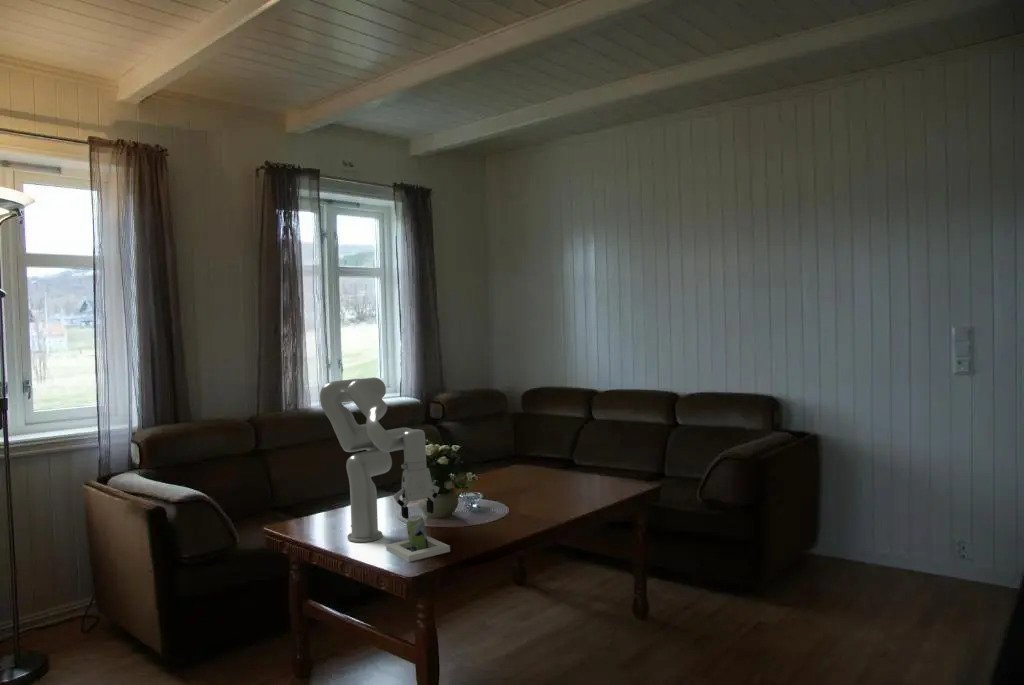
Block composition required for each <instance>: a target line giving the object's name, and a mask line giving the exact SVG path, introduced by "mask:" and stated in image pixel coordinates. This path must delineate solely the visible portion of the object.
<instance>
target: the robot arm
mask: <svg viewBox="0 0 1024 685" xmlns="http://www.w3.org/2000/svg"><path fill="white" fill-rule="evenodd" d="M386 392H387V388H386V384H385V383H384V382H383V380H381V379H380V378H378V377H367V378H365V377H364V378H352V379H351V378H350V379H344V380H341V379H340V380H334V381H329V382H327V383H326V384H324V385H323V386H322V387H321V388H320V392H319V402H320V407H321V408H322V411H323V412H324V414H325V416H326V417H327V418H328V420H329V421H330V424H331V425H332V428H333V431H334V433H335V436H336V438H337V439H338V442H339V445H340V446H341V448H342V450H343V451H344V452H347V453H354V454H352V455H351V456H350V457H348V459H347V460H346V465H345V467H346V473H347V477H348V482H349V483H348V484H349V494H350V495H349V498H350V518H351V519H350V521H351V522H350V524H351V525H350V528H351V532H350V533H349V534H348V535H347V540H348V541H349V542H353V543H368V542H373V541H378V540H380V539H382V537H383V532H382V531H380V530H379V522H378V497H377V486H376V484H375V483H374V481H373V479H372V477H375V476H379V475H383V474H386V473H388V472H389V471H390V470H391V468H392V466H393V460H392V456H391V454H390V453H391V452H396V451H402V450H403V461H404V462H403V464H401V465H400V467H401V469H403V470H402V476H401V489H399V491H397V492H396V493H395V494H394V495H393V498H394V500H395V502H396V503H397V504H398V505H399V506H400V509H401V516H402V518H403V519H406V520H408V518H410V516H409V506H408V504H410V502H414V501H415V502H416V501H419V500H424V499H427V500H426V511H427V512H426V513H429V514H433V513H434V506H435V505H434V502H436V500H435V499H436V498H437V497H438V493H439V490H440V487H439V486H437V485H435V484H433V480H432V476H431V471H430V468H428V467H427V448H426V432H425V431H424V430H423V429H418V428H417V429H416V428H415V429H413V428H409V427H399V428H392V429H385V428H384V427H383V426H382V425H381V424H380V422H379V421H380V420H381V419H382V418H383V417H384V416H385V415H386V413H387V410H388V405H387V403H386V402H385V401H384V400H383V398H384V397H385V395H386ZM351 402H353V403H354V404H355V406H356V407H357V408H358V409H359V411H361V413H362V414H363V416H365V418H366V421H365V423H363V424H358V422H357V420H356V419H355V416H354V415H353V413H352V411H351V410H349V408H347V407H346V406H345V405H343V404H344V403H351ZM364 450H366V451H364ZM355 452H357V453H355ZM401 497H402V499H401Z"/></svg>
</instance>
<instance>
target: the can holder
mask: <svg viewBox="0 0 1024 685" xmlns="http://www.w3.org/2000/svg"><path fill="white" fill-rule="evenodd" d="M427 541H428V548H426V549H422V550H418V551H412V550H409V549H411V546H410V541H409V539H405V540H401V541H395V542H392V543H388V544H386V545H385V548H386V551H387V552H389V553H390V554H392V555H394V556H396V557H398V558H400V559H402V560H404V561H406V562H408V563H410V562H414V561H418V560H421V559H422V560H423V559H425V558H430V557H434V556H437V555H442V554H446V553H450V552H451V545H449V544H446V543H444V542H443V541H439V540H437V539H435V538H434V537H433V538H432V537H431V536H428V535H427Z"/></svg>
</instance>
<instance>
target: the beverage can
mask: <svg viewBox="0 0 1024 685" xmlns="http://www.w3.org/2000/svg"><path fill="white" fill-rule="evenodd" d="M406 528H407V535H408V540H409V541H410V546H411V548H410V551H411V552H414V551H418V550H422V549H426V548H429V547H428V541H427V536H428V535H427V530H426V524H425V519H424V518H423V516H422V515H413V516H409V518H408V519H407V521H406Z"/></svg>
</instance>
